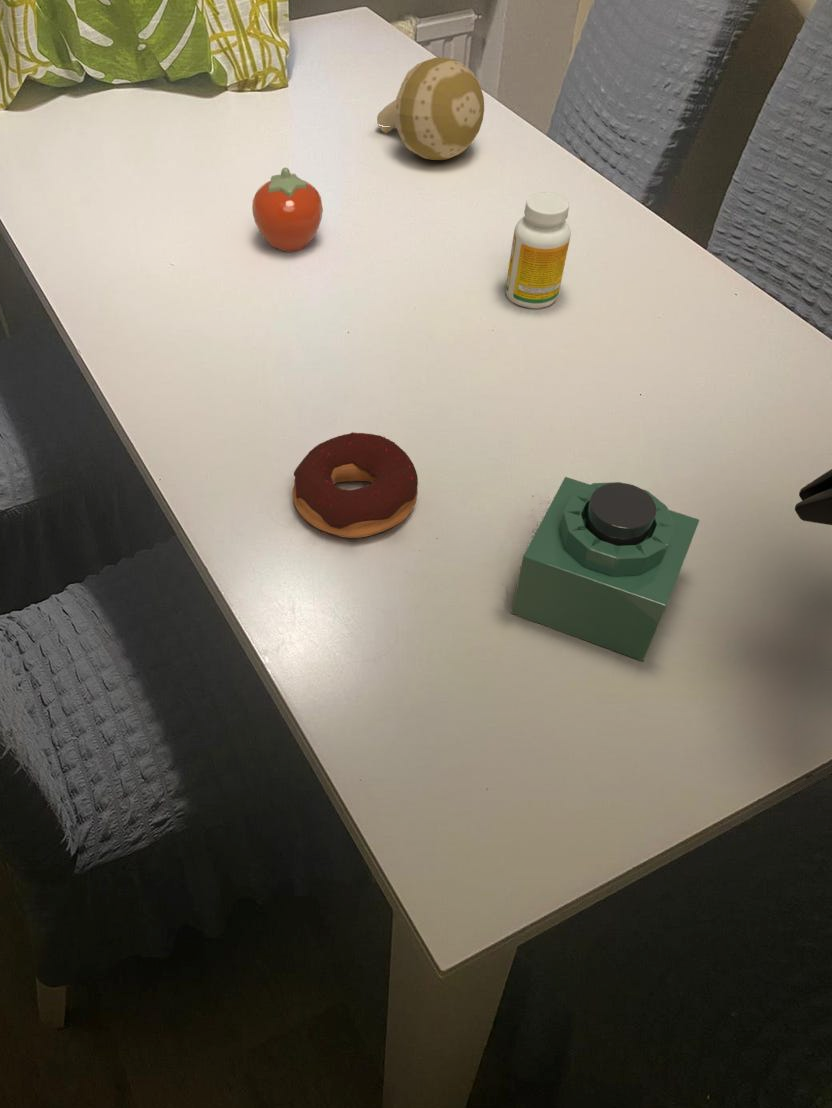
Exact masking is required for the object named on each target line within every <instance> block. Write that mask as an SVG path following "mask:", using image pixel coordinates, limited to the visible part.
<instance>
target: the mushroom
mask: <svg viewBox="0 0 832 1108" xmlns="http://www.w3.org/2000/svg"><path fill="white" fill-rule="evenodd" d="M481 86H482V85H481V84H480V81H479V80H478V78H477V77H476V75H475V74H474V72H473V71H472V70H471V69H470V68H469V67H467V65H466V64H465V65H464V63H462V62H461V61H459V60H457V59H453V58H449V57H438V56H437V57H433V58H430V59H427V60H424V61H421V62H419V63H417V64H416V65H415V66H413V67H412V68H411V69H409V70H408V71H407V73H406V75H405V76H404V78H403V81H402V82H401V85H400V87H399V89H398V92H397V95H396V98H395V99H394V100H393V101H391V102H390V103H388V104H387V105H385V106H384V107H383V108H382V109H381V110H380V111H379V112H378V114H377V116H376V123H377V126H378V128H379V129H380V130H381V132H383V133H390V132H391V131H393V129H395V128H396V130H397V133H398V135H399V138H400V140H401V141H402V143H403V144H404V146H405V147H406V149H408V150H409V151H411V152H412V153H414V154H416V155H417V156H419V157H421V158H423V159H425V160H429V161H430V160H431V161H432V160H433V161H444V160H445V161H446V160H449V159H451V158H453V157H455V156H458V155H460V154H462V153H463V152H464V151H465V150H466V149H467V148H469V146H471V144H472V143H473V142H474V140H475V139H476V137H477V135H478V134H479V132H480V130H481V127H482V124H483V120H484V113H485V98H484V94H483V89H482V87H481ZM378 124H380V125H383V126H390V127H382V126H379V125H378ZM394 126H395V127H394ZM425 157H426V158H425Z"/></svg>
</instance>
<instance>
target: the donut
mask: <svg viewBox="0 0 832 1108" xmlns="http://www.w3.org/2000/svg"><path fill="white" fill-rule="evenodd" d="M293 477H294V481H293V487H292V500H293V503H294V506H295V509H296V510H297V512H298V513H299V514H300V515H301V517H303V519H304V520H305V521H306V522H308V523H309V524H310V525H312V527H314V528H316V529H318V530H320V531H323V532H325V533H328V534H331V535H334V536H337V537H341V538H350V539H358V538H365V537H369V536H374V535H376V534H379V533H382V532H385V531H388V530H389V529H391V528H393V527H395V526H397V525H399V524H401V523H402V522H404V520H406V519H407V517H408V516H409V515H410V514H411V512H412V510H413V508H414V506H415V504H416V502H417V498H418V485H419V481H418V480H419V478H418V473H417V470H416V467H415V464H414V463H413V461H412V459H411V458H410V456H409V454H408V453H407V452H406V451H404V450H403V448H401V447H400V446H399V445H398V444H397V443H395V441H393V440H390V439H389V438H387V437H385V436H382V435H379V434H378V435H377V434H373V433H364V432H353V431H352V432H350V433H345V434H341V435H338V436H336V437H334V436H333V437H332V438H329V439H327V440H325V441H323V442H321V443H319V444H317V445H316V446H314V447H313V448H312V449H311V450H309V452H308V453H307V454H306V455H305V456H304V457H303V459H302V460H301V462H299V464H298V465H297V467H296V468H295V469H294V472H293ZM357 481H358V482H360V481H361V482H369V483H371V484H368V485H366V486H362V487H359V488H355V489H345V488H340V487H338V486H337V485H335V484H337V483H342V482H357Z"/></svg>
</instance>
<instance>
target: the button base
mask: <svg viewBox="0 0 832 1108" xmlns="http://www.w3.org/2000/svg"><path fill="white" fill-rule="evenodd" d="M609 483H623V482H621V481H613V482H593V483H587V482H584V481H580V480H577V479H574V478H571V477H568V476H565V477H564V479H563V480H562V482H561V483H560V485H559V487H558V489H557V491H556V493H555V495H554V497H553V499H552V501H551V502H550V505H549V507H548V509H547V511H546V512H545V514H544V516H543V518H542V519H541V522H540V524H539V525H538V527H537V529H536V531H535V533H534V534H533V537H532V539H531V541H530V543H528V546H527V548H526V550H525V551H524V554H523V556H522V561H521V565H520V570H519V575H518V580H517V584H516V589H515V593H514V599H513V603H512V607H511V611H510V612H511V614H513V615H515V616H518V617H521V618H524V619H527V620H529V621H531V622H535V623H538V624H540V625H543V626H545V627H549V628H551V629H553V630H556V631H559V632H562V633H565V634H567V635H570V636H573V637H575V638H578V639H581V640H584V641H587V642H589V643H592V644H594V645H596V646H600V647H603V648H606V649H608V650H611V651H613V652H616V653H619V654H622V655H623V656H624V655H625V656H627V657H631V658H633V659H635V660H637V661H641V662H644V661H645V659H646V657H647V654H648V652H649V649H650V647H651V646H652V645H651V644H652V643H653V640H654V637H655V635H656V633H657V631H658V628H659V626H660V623H661V621H662V619H663V616H664V614H665V612H666V609H667V607H668V604H669V602H670V599H671V596H672V594H673V591H674V589H675V586H676V583H677V581H678V578H679V576H680V572H681V571H682V567H683V565H684V561H686V560H685V559H686V557H687V554H688V551H689V549H690V547H691V544H692V541H693V538H694V535H695V533H696V530H697V529H698V525H699V523H700V519H699V518H697V517H694V516H693V517H692V516H690V515H686V514H683V513H680V512H677V511H674V510H671V509H669V508H668V505H666V504H664V502H663V501H661V500H660V499H659V498H657V497H656V496H655V495H654V494H652V493H651V492H650V491H648V490H647V489H643V488H641V489H642V490H644V491H645V492H647V493H648V494H649V495H650V496H651V497H652V498H653V500H654V502H655V504H656V515H655V518H654V521H653V524H652V526H651V529H650V532H649V534H648V536H647V537H646V538H645V539H644V540H643V541H642V542H640V543H638V544H635V545H624V546H617V545H614V544H611V543H608V542H605V541H602V540H599V539H598V538H597V537H595V536H594V535H593V534H592V533H591V532H590V531H589V530H588V528H587V526H586V522H585V517H586V513H587V509H588V505H589V502H590V498H591V495H592V494H593V492H594V491H595V490H596V489H597V488H599V487H601V486H603V485H605V484H609Z"/></svg>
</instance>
